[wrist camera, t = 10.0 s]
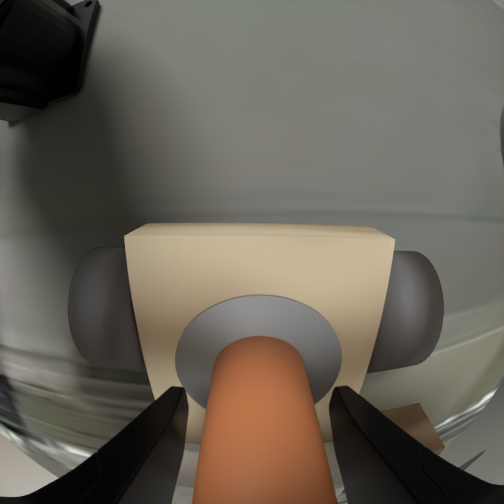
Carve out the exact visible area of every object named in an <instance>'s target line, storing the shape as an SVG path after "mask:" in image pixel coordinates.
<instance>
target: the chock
mask: <svg viewBox="0 0 504 504" xmlns="http://www.w3.org/2000/svg"><path fill="white" fill-rule="evenodd" d="M381 413H383V414H384V415H385V416H386V417H388V418H389V419H390V420H392V421H393V422H394V423H395V424H397V425H398V426H399V427H401V428H402V429H403V430H404V431H406V432H407V433H408V434H410V435H411V436H412V437H414V438H415V439H416V440H418V441H419V442H420V443H422V444H423V445H424V447H427V448H429V449H430V450H431V451H433V452H434V453H435V454H437V455H439V454H440V453H441V452H442V451H443V449H444V448H445V446H444V444H443V443H442V441H441V439H440V437H439V436H438V434H437V432H436V431H435V429H434V427H433V425H432V424H431V422H430V420H429V419H428V417H427V415H426V414H425V412H424V410H423V409H422V407H421V406H420V404H419V403H417V404H413V405H409V406H405V407H401V408H397V409H393V410H388V411H383V412H381Z"/></svg>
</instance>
